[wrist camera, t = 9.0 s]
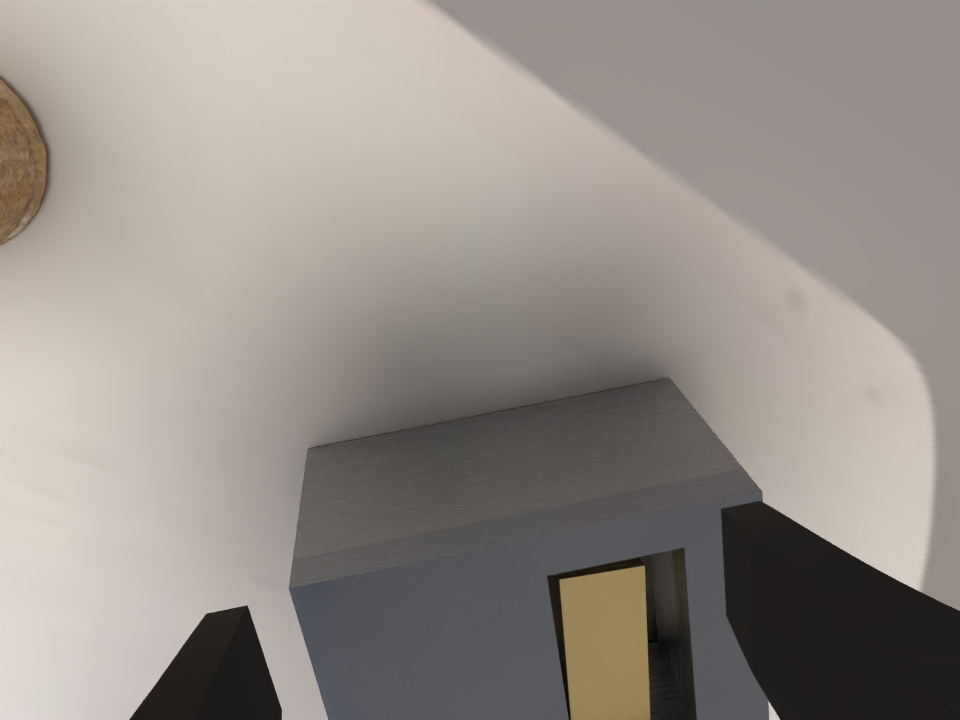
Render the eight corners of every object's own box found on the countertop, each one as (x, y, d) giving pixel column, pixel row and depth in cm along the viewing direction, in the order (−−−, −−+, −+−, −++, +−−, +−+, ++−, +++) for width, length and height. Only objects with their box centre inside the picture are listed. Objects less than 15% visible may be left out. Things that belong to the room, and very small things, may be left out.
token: (601, 602, 26) (650, 728, 22) (536, 613, 26) (573, 742, 21) (592, 459, 24) (644, 565, 20) (522, 470, 24) (559, 579, 20)
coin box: (690, 659, 27) (772, 823, 22) (381, 724, 27) (385, 909, 21) (669, 378, 23) (761, 492, 18) (307, 448, 23) (288, 588, 17)
